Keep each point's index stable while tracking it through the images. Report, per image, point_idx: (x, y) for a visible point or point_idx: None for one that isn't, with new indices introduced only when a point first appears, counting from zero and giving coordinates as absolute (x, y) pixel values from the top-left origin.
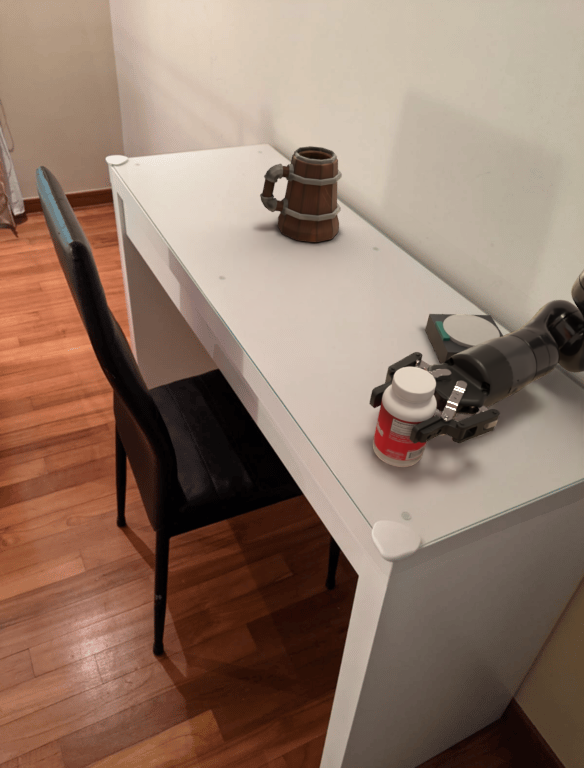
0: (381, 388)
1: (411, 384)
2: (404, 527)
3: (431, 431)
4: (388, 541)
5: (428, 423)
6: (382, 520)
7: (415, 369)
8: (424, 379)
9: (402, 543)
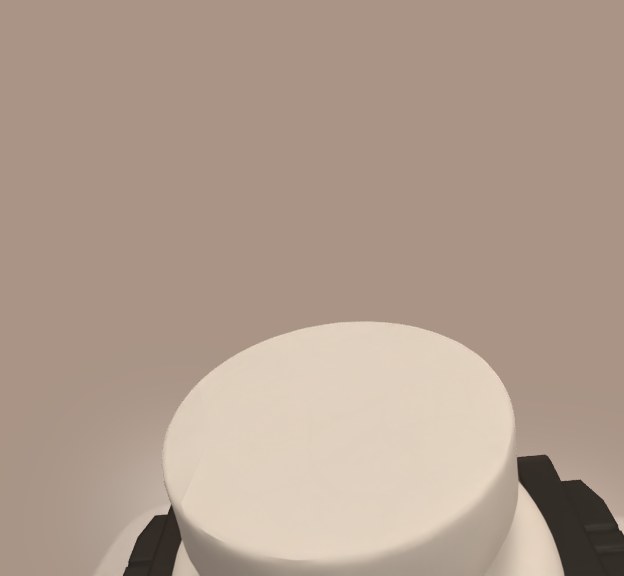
0: (559, 498)
1: (303, 368)
2: None
3: (129, 564)
4: (159, 508)
5: (159, 555)
6: None
7: (444, 467)
8: (284, 456)
9: (128, 533)
